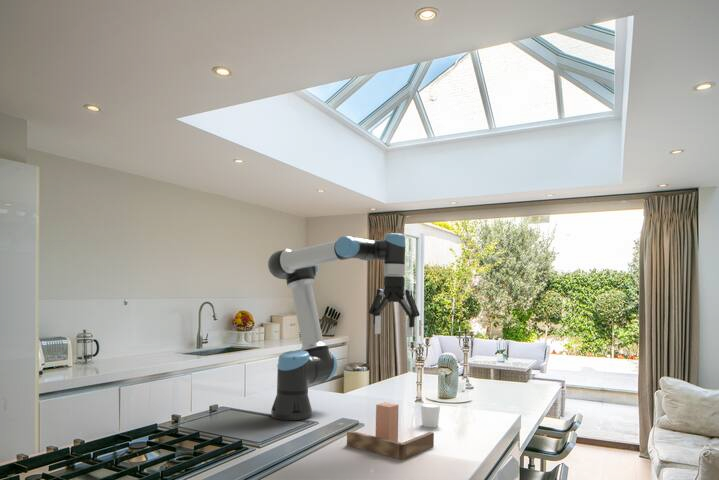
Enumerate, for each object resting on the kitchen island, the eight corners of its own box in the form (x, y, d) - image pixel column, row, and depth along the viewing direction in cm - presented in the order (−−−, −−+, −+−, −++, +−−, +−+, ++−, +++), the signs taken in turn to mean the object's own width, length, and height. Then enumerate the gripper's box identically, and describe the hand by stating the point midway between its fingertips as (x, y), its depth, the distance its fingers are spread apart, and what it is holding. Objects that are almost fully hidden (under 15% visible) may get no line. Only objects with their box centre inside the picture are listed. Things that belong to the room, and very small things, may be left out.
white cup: (439, 428, 180) (439, 407, 181) (419, 426, 181) (419, 406, 182) (440, 423, 187) (440, 403, 187) (421, 422, 188) (421, 402, 189)
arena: (346, 445, 158) (347, 431, 158) (379, 433, 171) (379, 421, 172) (403, 459, 145) (403, 445, 145) (433, 446, 159) (433, 432, 159)
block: (375, 444, 158) (376, 404, 160) (384, 441, 162) (385, 402, 164) (388, 447, 155) (389, 407, 157) (397, 444, 159) (398, 404, 160)
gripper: (429, 276, 182) (428, 337, 180) (372, 276, 197) (371, 332, 195) (418, 275, 176) (417, 338, 174) (360, 275, 191) (359, 333, 189)
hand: (393, 335), depth 184 cm, fingers open, 13 cm apart
